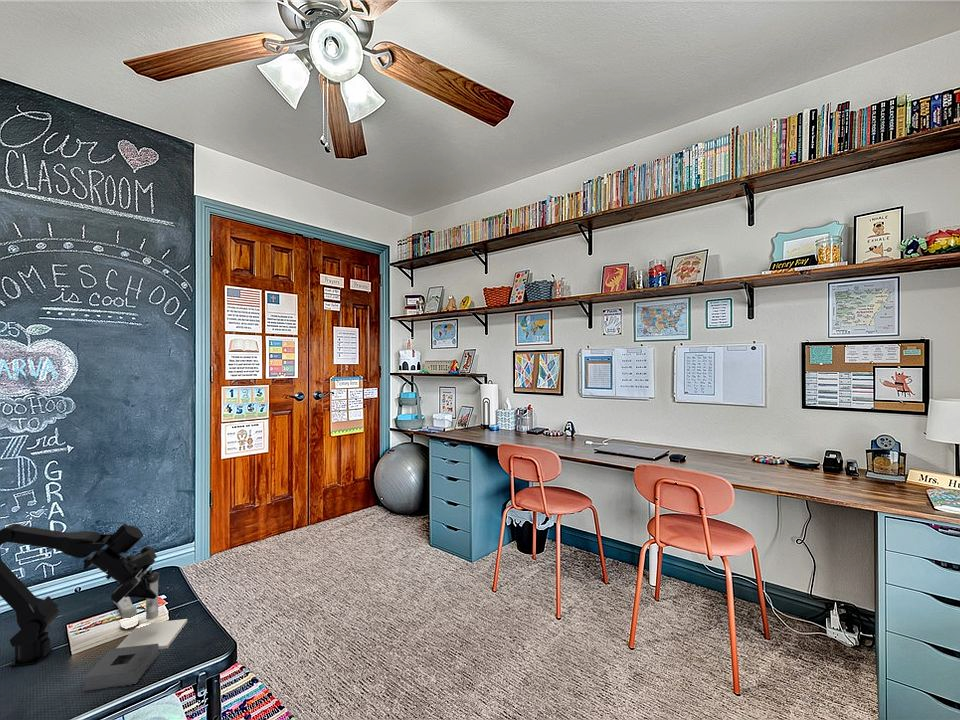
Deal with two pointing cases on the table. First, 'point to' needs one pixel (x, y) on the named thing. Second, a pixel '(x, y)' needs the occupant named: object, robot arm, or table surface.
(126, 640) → the pad
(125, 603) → the grey rounded bar
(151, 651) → the grey square frame block
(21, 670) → the table surface
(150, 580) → the black knobbed metal rod
